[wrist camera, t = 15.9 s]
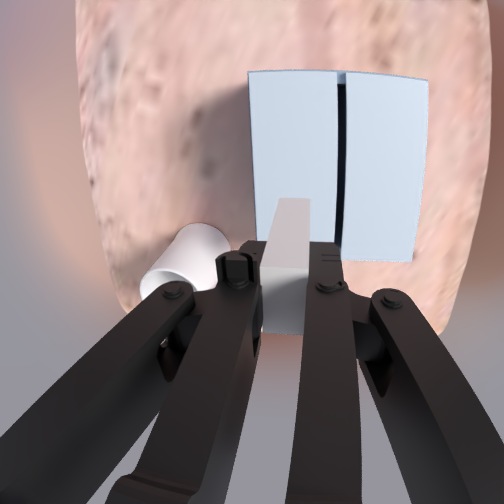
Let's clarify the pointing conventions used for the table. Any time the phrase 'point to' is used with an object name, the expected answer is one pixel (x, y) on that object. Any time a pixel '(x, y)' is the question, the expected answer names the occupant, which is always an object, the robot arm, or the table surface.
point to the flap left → (295, 146)
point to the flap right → (383, 166)
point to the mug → (188, 259)
